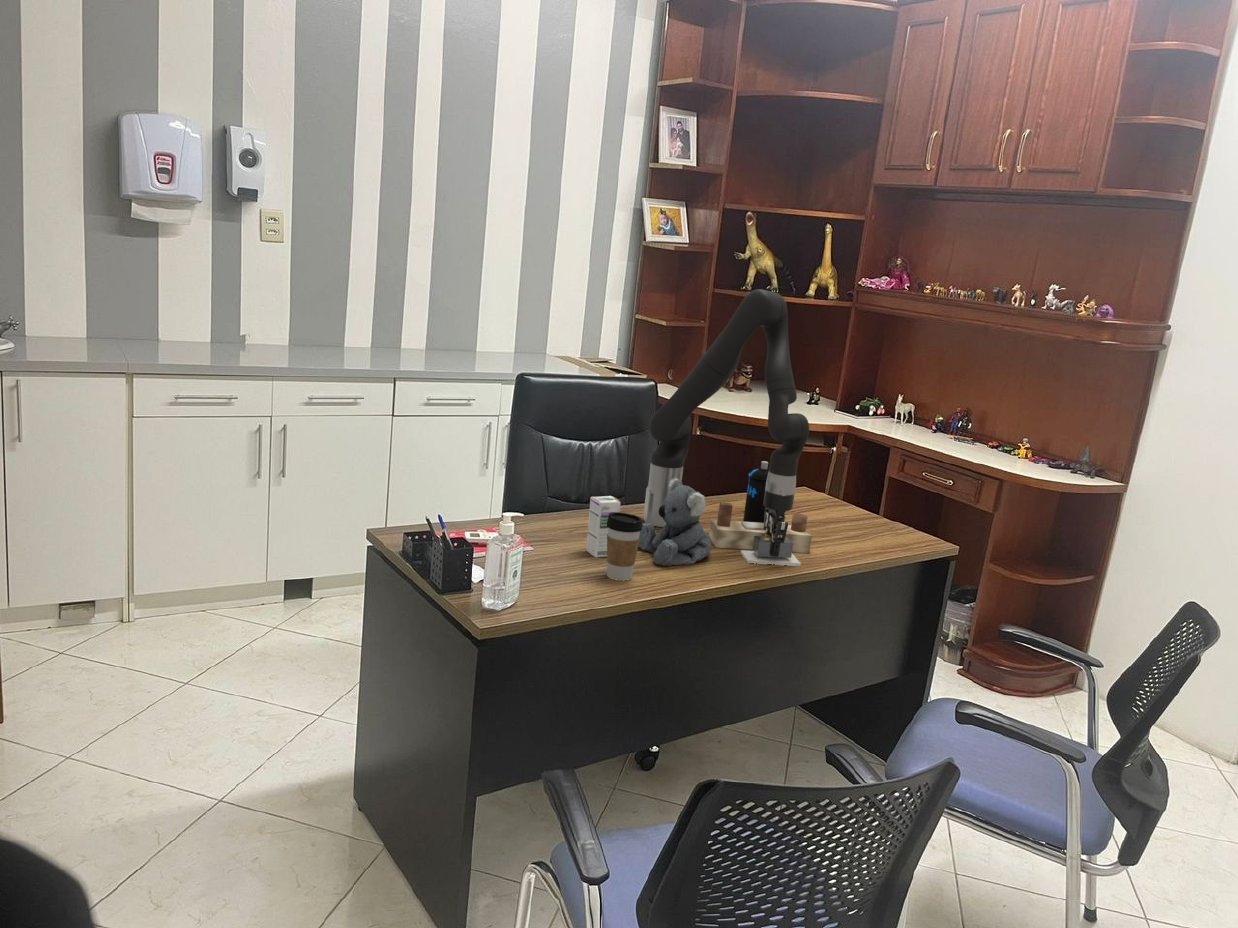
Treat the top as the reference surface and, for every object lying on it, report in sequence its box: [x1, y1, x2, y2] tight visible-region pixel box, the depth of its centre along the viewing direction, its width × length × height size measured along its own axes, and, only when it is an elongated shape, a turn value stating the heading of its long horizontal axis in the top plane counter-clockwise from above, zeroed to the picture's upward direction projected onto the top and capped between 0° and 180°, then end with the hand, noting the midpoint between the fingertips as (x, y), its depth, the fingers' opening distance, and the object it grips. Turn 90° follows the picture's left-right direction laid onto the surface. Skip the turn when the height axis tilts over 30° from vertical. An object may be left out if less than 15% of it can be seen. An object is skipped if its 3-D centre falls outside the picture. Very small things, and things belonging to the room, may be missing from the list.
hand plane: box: [708, 501, 813, 554], centre depth 260 cm, size 26×9×11 cm, turn 96°
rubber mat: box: [740, 549, 801, 567], centre depth 249 cm, size 14×8×1 cm, turn 96°
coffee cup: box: [606, 512, 643, 581], centre depth 224 cm, size 8×8×15 cm
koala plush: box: [638, 478, 712, 567], centre depth 243 cm, size 17×18×20 cm
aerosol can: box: [742, 460, 769, 523], centre depth 273 cm, size 8×8×20 cm
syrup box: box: [585, 495, 621, 559], centre depth 239 cm, size 6×6×14 cm
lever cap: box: [752, 534, 793, 558], centre depth 248 cm, size 9×5×5 cm, turn 96°
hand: (771, 552), depth 249 cm, fingers closed on lever cap, 5 cm apart
